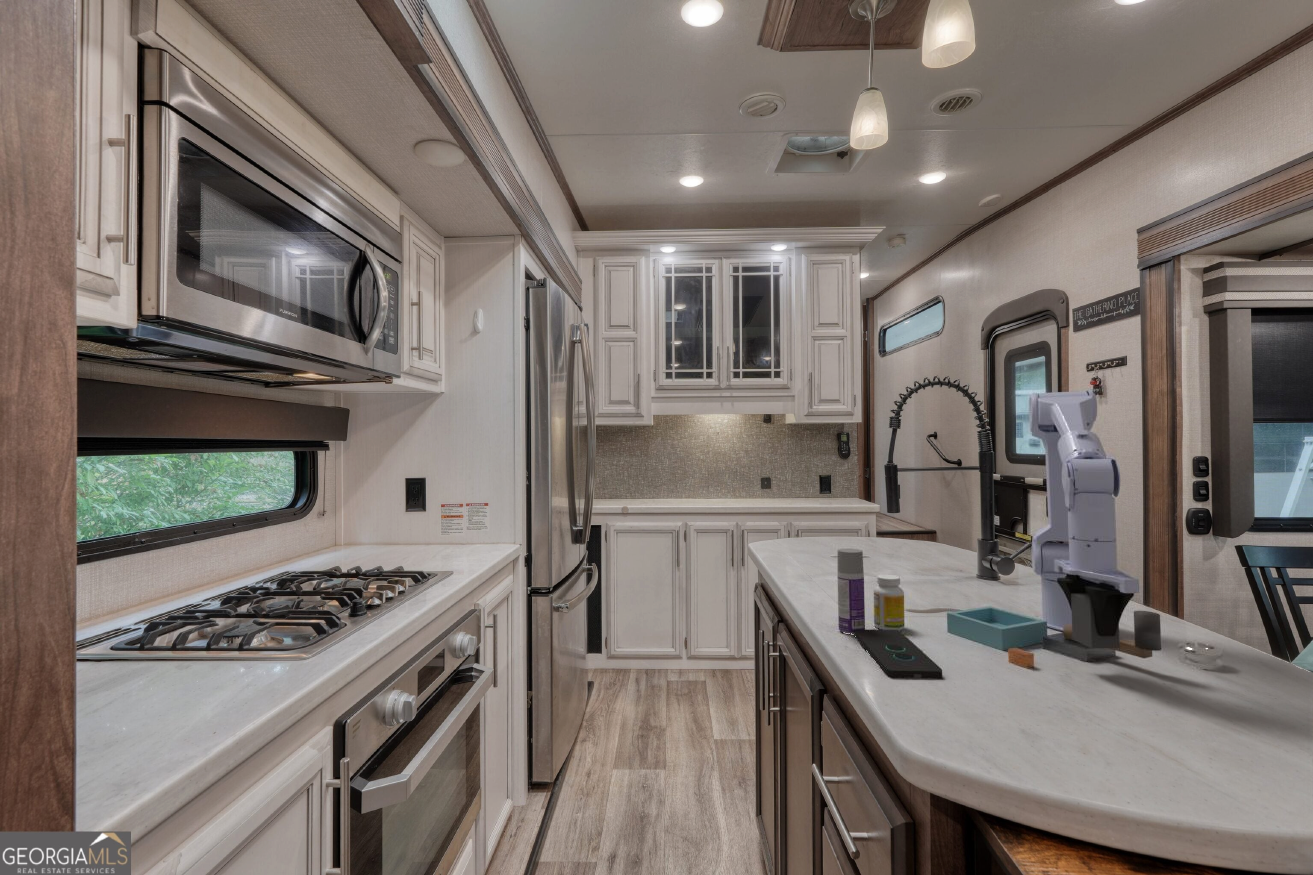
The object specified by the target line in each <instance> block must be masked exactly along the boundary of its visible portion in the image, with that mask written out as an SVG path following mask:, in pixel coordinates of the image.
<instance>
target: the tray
mask: <svg viewBox="0 0 1313 875" xmlns="http://www.w3.org/2000/svg"><path fill="white" fill-rule="evenodd" d="M946 620H947V621H946V622H947V623H946V624H947V625H946V627H947V628H946V629H947V631H946V632H947V633H949V634H953V635H955V636H958V637H961V638H965V639H967V640H971V641H973V642H976V643H979V644H982V645H984V646H988V647H991V648H993V649H997V650H1000V651H1008V649H1011V648H1018V649H1019V648H1023V647H1027V646H1032V645H1037V644H1043V636H1047V635H1048V627H1047V621H1044V620H1040V618H1036V617H1032V616H1028V615H1025V614H1020V613H1017V612H1014V611H1011V610H1010V611H1009V610H1005V609H1003V608H999V607H995V606H991V605H990V606H989V605H988V606H982V607H981V606H980V607H976V608H969V609H963V610H955V611H950V612H949V611H948V612H946Z"/></svg>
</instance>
